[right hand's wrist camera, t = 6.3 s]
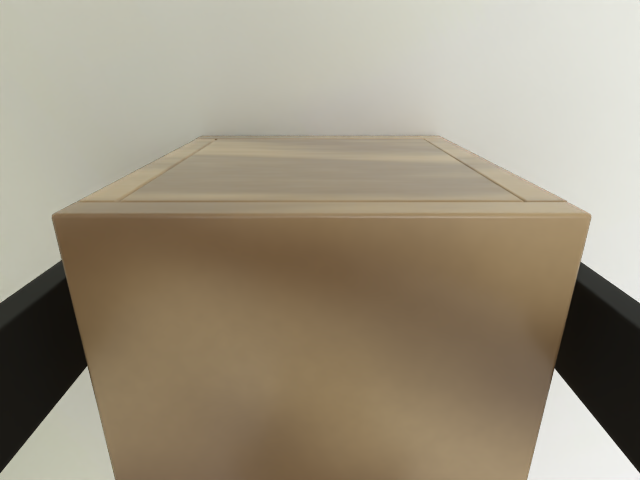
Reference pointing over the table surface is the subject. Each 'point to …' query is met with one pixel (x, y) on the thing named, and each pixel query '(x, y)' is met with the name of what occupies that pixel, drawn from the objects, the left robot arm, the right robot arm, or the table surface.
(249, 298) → the cabinet
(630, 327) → the right robot arm
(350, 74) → the table surface
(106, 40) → the table surface
